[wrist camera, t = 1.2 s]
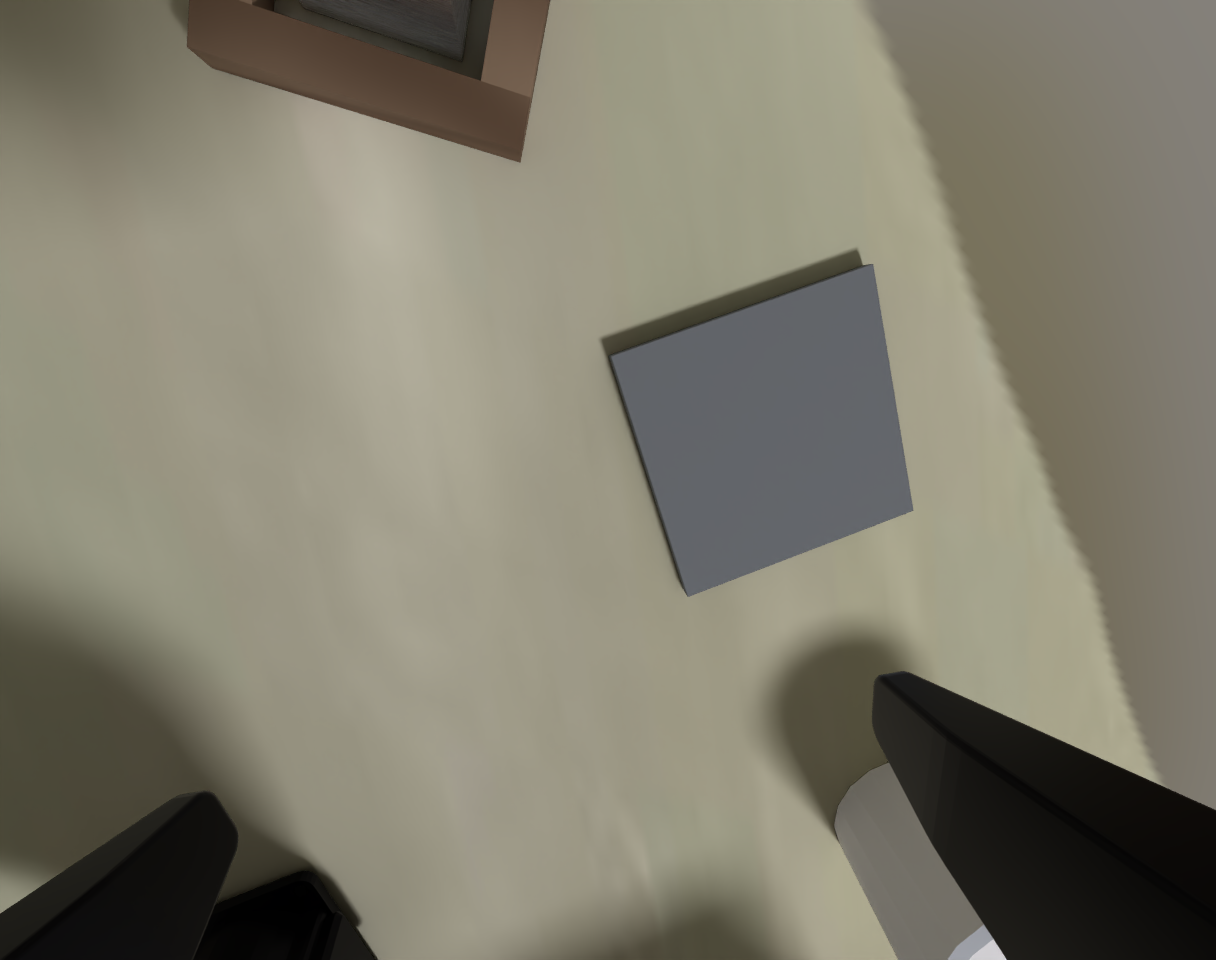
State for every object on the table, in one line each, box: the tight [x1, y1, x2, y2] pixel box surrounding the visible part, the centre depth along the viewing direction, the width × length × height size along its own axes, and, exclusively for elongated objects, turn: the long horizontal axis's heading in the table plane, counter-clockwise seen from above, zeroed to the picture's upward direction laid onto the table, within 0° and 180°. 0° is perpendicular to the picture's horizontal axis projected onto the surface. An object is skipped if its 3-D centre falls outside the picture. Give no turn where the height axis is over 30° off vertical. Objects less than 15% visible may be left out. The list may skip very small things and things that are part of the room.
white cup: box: [834, 762, 1007, 960], centre depth 23 cm, size 7×7×7 cm
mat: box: [609, 264, 913, 597], centre depth 20 cm, size 9×9×1 cm
